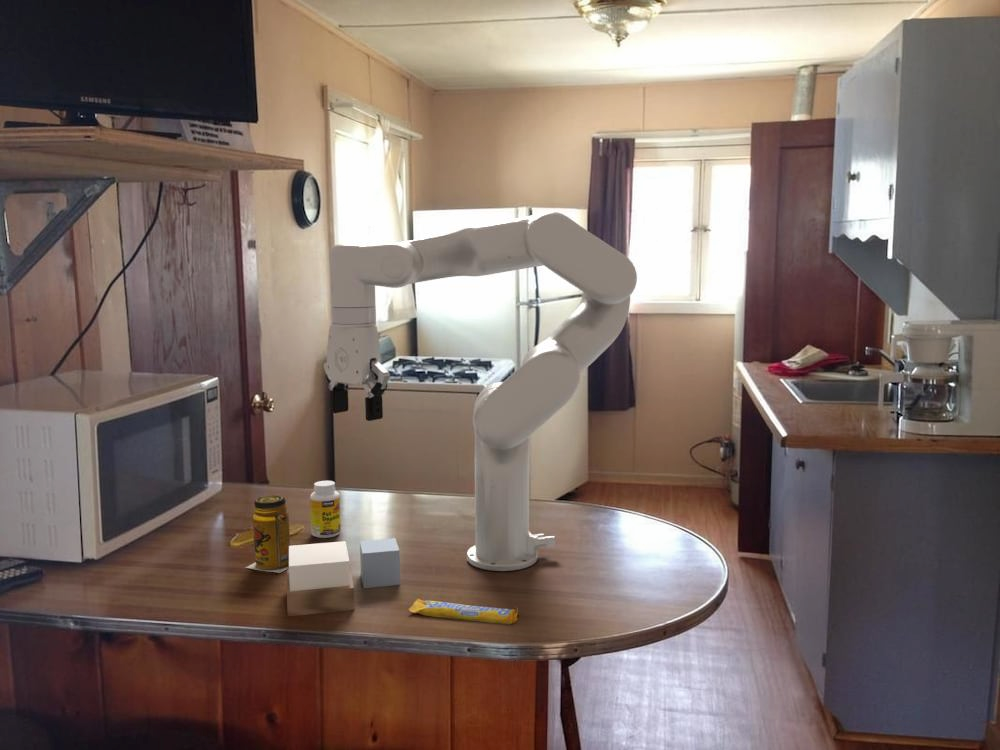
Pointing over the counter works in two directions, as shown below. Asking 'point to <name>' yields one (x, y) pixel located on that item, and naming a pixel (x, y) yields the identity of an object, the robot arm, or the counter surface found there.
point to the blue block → (380, 563)
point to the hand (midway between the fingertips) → (356, 415)
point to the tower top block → (318, 566)
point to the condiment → (271, 534)
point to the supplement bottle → (325, 510)
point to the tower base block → (320, 599)
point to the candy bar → (464, 612)
